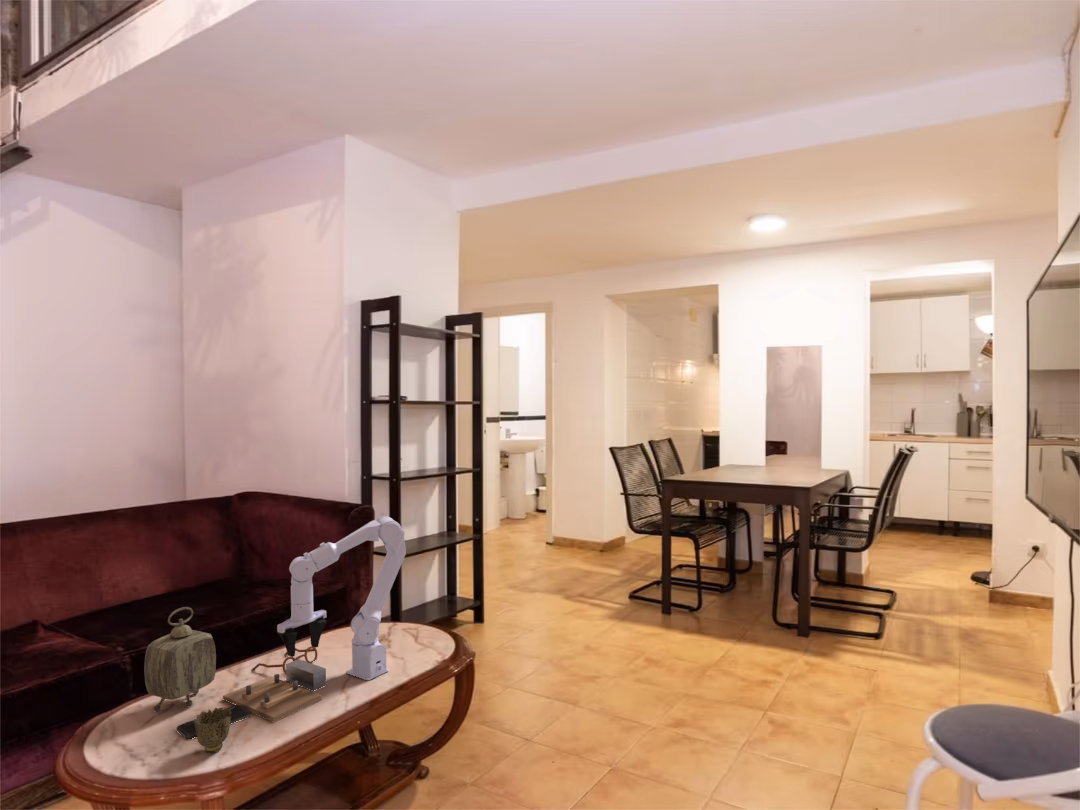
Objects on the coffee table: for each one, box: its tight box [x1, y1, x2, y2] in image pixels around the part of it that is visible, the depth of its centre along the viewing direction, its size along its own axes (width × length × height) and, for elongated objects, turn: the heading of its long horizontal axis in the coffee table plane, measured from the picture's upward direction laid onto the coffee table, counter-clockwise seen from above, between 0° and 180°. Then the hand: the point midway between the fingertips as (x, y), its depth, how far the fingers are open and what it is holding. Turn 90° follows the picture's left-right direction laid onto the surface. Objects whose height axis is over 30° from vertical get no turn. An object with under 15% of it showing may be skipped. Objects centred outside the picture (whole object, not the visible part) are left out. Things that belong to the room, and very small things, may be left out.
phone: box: [176, 705, 251, 740], centre depth 161 cm, size 8×1×15 cm
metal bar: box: [285, 658, 327, 692], centre depth 183 cm, size 12×4×5 cm, turn 56°
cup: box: [193, 707, 231, 754], centre depth 149 cm, size 8×7×8 cm
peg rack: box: [222, 673, 323, 723], centre depth 173 cm, size 22×14×4 cm, turn 56°
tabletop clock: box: [143, 606, 217, 713], centre depth 171 cm, size 14×9×25 cm, turn 154°
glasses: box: [252, 646, 318, 675], centre depth 196 cm, size 13×13×5 cm
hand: (303, 651), depth 182 cm, fingers open, 7 cm apart
